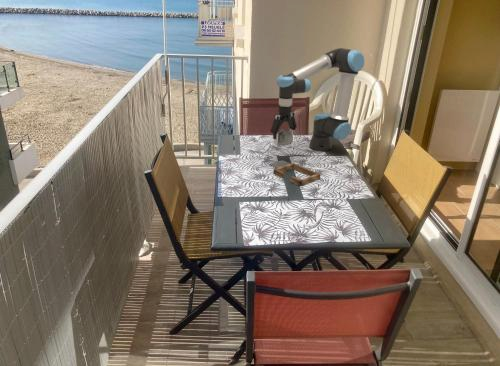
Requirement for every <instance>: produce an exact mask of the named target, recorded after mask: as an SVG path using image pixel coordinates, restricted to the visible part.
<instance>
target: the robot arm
mask: <svg viewBox="0 0 500 366" xmlns="http://www.w3.org/2000/svg"><path fill="white" fill-rule="evenodd" d="M364 66H365V56H364V55H363V53H362V52H361V51H359V50H355V49H350V48H343V47H342V48H341V47H340V48H335V49H332V50H330V51H328V52H326V53H324V54H322V55H321V56H320V57H319V58H317V59H315V60H314V61H312V62H310V63H307V64H306V65H304V66H301V67H299V68H298V69H296V70H295V71H292V72H290V73H288V74H281V75H279V76H278V77H277V79H276V84H277V86H278V87H279V90H278V91H279V92H278V115H274V118H273V119H274V120H273V122H272V125H271V129H270V133H271V134H272V138H273V144H274V145H276V146H278V132H279V131H280V129H281V126H282V125H283V123H285V122H286V123H287V125H288V128H289V129H288V131H289V132H290V133H291V134H292V138H293V139H294V135H295V134H294V131H296V129H297V127H298V126H297V122H296V117H295V113H296V112H293V111H292V110H293V108H292V107H293V96H294V95H297V94H305V93H309V92H310V91H311V89H312V83H311V81H310V78H311V77H315V75H317V74H320V73H321V72H323V71H325V70H328V71H329V70H330V69H334V68H335V69H336V68H338V74H339V81H338V85H337V86H338V87H337V93H336V98H335V102H334V107H333V113H329V112H326V113H325V112H323V113H316V114H315V115H314V119H313V128H312V129H313V130H312V136H311V139H310V141H309V145H308V147H309V148H310V149H311V150H313V151H318V152H328V151H331V150H332V149H333V143H332V140H331V138H333V139H334V140H339V141H341V140H345V139H346V138H347V137H348V136H350V133H351V131H352V126H351V124H350V122H349V121H350V119H349V117H348V113H349V107H350V102H351V98H352V92H353V88H354V83H355V82H354V81H355V77H356V76H357V75H358V74H359V72H360V71H361V70H363V68H364Z"/></svg>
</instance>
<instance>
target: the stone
mask: <svg viewBox="0 0 500 366" xmlns="http://www.w3.org/2000/svg"><path fill="white" fill-rule="evenodd" d="M277 133H278V145H277V146H279V147H282V146H283V147H284V146H290V145H292V144H293V140H294V137H293V138H292V134H291V133H290V132H289V129H288V130H287V129H286V128H282V129H280V130H279V131H278V132H277Z"/></svg>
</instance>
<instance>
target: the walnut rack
mask: <svg viewBox="0 0 500 366" xmlns="http://www.w3.org/2000/svg"><path fill="white" fill-rule="evenodd" d="M292 170H294V171H297V172H299V173H301V174H304V175H306V177H305V178H302V179H300V178H298V177H295V176H294V175H292V176H290V179H289V181H290V183H292V184H294V185H297V186H299V187H303V186H305V185H308V184H310V183H313V182H316V181H319V180H321V176H322V175H321V173H318V172H316V171H314V170H312V169H309V168H306V167H304V166H302V165H299V164H297V163H294V162H293V163H290V164H289V165H286V166H283V167H279V168H274V169H273V171H272V172H273V175H274V174H275V176H276V175H277V176H276V177H278V176H279V178H280V179H284V178H285V173H286V172H289V171H292Z"/></svg>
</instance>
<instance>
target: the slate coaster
mask: <svg viewBox="0 0 500 366" xmlns="http://www.w3.org/2000/svg"><path fill="white" fill-rule="evenodd" d="M289 164H291V163H290V162H287V161H286V160H279V161H275V162H272V163H268V166H270V167H272V166H273V167H272V168H274V169H276V168H279V167H283V166H286V165H289Z"/></svg>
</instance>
